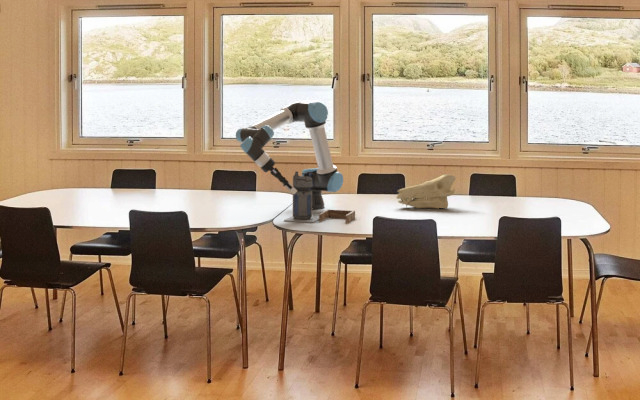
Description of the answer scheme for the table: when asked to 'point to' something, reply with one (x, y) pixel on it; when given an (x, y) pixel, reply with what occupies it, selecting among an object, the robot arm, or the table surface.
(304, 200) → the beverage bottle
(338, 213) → the walnut dock
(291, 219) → the grey rubber mat
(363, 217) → the table surface
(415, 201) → the animal skull
